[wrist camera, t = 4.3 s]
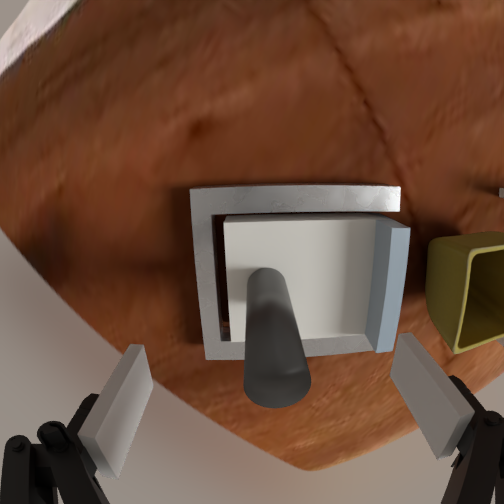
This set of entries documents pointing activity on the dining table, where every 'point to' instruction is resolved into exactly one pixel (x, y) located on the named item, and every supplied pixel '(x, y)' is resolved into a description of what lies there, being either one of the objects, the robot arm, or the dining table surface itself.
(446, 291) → the flower pot
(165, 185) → the dining table surface
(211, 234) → the rail base
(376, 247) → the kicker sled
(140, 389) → the robot arm
